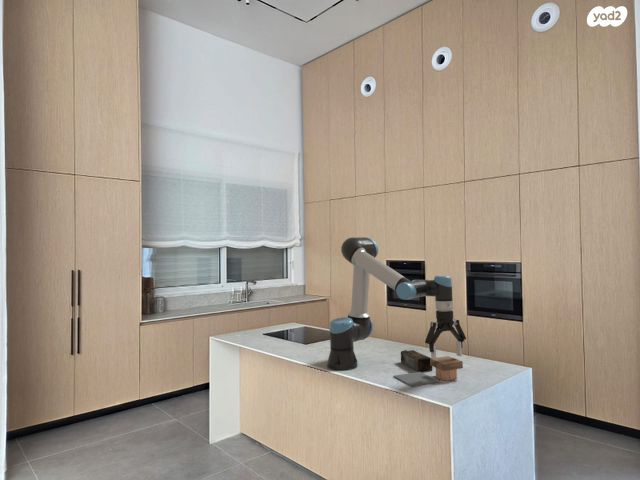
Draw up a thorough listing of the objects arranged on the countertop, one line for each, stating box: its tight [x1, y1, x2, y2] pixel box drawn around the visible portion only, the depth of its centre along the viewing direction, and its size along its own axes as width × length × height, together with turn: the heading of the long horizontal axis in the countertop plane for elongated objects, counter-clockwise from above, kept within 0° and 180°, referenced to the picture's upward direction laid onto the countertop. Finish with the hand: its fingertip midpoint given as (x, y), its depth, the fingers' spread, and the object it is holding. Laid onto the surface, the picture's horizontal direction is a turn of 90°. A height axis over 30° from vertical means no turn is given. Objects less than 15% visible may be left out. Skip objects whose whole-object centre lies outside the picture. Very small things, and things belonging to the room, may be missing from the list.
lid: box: [430, 355, 464, 371], centre depth 191 cm, size 10×10×3 cm
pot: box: [435, 367, 458, 381], centre depth 190 cm, size 9×9×5 cm
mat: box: [393, 371, 440, 388], centre depth 188 cm, size 15×14×1 cm
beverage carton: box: [400, 349, 433, 373], centre depth 209 cm, size 8×19×7 cm, turn 15°
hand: (446, 357), depth 190 cm, fingers open, 13 cm apart
